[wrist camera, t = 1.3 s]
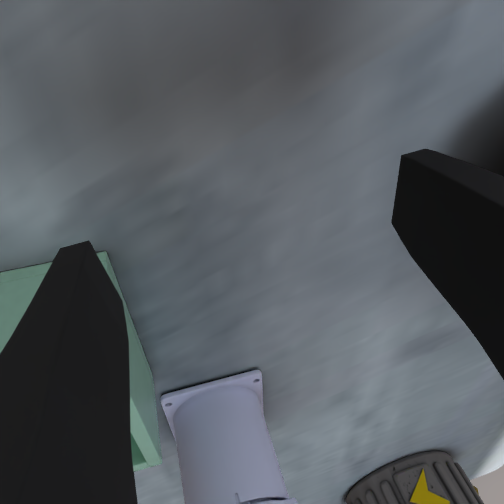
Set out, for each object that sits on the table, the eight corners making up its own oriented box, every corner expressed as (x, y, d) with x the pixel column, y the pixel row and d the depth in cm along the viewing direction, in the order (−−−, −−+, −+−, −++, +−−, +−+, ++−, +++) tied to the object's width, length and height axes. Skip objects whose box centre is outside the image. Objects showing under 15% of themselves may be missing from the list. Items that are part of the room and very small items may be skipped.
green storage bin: (152, 375, 30) (162, 463, 25) (-62, 430, 27) (-94, 539, 23) (106, 250, 21) (107, 348, 17) (-206, 313, 19) (-302, 447, 15)
